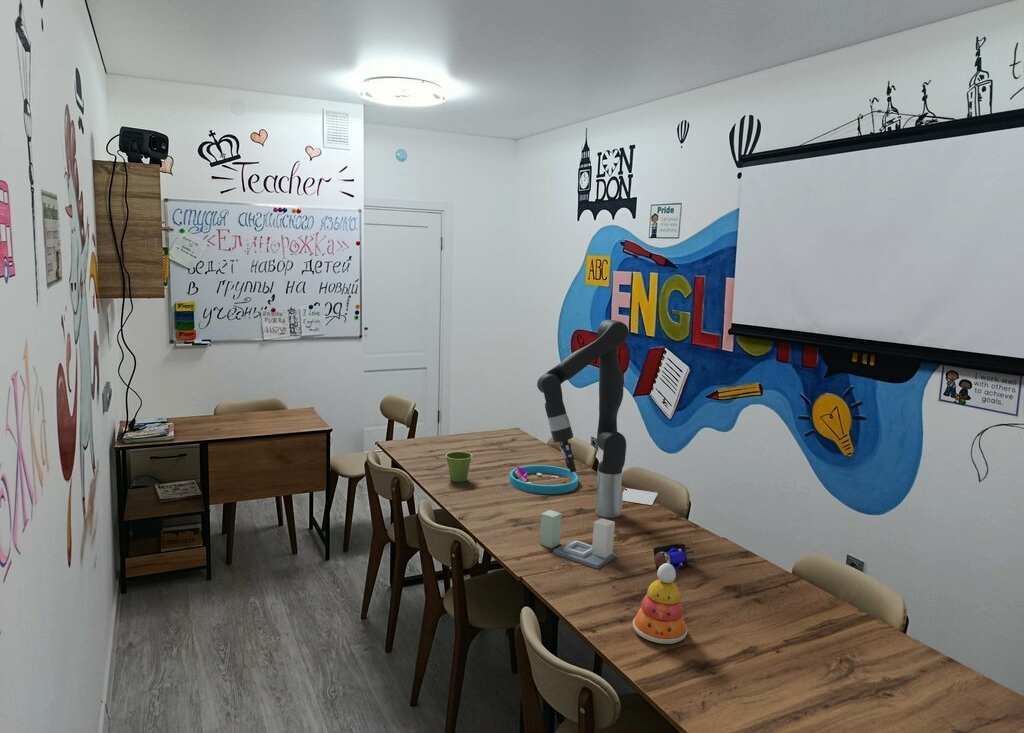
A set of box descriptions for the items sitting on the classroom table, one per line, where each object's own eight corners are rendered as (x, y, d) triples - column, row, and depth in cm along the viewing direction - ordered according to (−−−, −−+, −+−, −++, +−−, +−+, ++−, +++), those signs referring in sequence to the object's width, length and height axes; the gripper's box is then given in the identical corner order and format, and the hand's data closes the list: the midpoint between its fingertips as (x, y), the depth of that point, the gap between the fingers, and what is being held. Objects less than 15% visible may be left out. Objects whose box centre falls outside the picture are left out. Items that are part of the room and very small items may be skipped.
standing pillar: (599, 549, 236) (601, 518, 234) (612, 553, 233) (614, 521, 231) (591, 553, 232) (593, 522, 230) (605, 558, 229) (607, 526, 227)
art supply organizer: (514, 471, 325) (514, 458, 324) (579, 476, 321) (580, 463, 320) (504, 491, 296) (505, 478, 295) (576, 497, 292) (576, 484, 291)
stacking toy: (627, 640, 182) (632, 569, 179) (637, 615, 195) (642, 548, 192) (683, 652, 177) (689, 580, 174) (690, 626, 190) (695, 558, 188)
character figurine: (697, 569, 227) (659, 577, 221) (683, 558, 234) (645, 565, 227) (700, 547, 225) (662, 554, 219) (686, 537, 232) (648, 543, 225)
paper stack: (595, 497, 292) (595, 496, 292) (608, 481, 315) (608, 479, 315) (651, 506, 284) (651, 505, 284) (661, 488, 307) (661, 487, 307)
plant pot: (444, 475, 312) (445, 451, 310) (471, 476, 314) (472, 451, 312) (444, 484, 301) (445, 458, 299) (472, 484, 302) (473, 459, 300)
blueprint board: (572, 543, 243) (573, 536, 243) (615, 557, 233) (616, 550, 233) (553, 553, 234) (553, 546, 234) (597, 568, 224) (597, 561, 223)
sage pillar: (548, 539, 245) (549, 509, 244) (559, 543, 242) (561, 513, 241) (539, 544, 241) (541, 513, 240) (551, 548, 238) (553, 517, 237)
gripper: (572, 426, 249) (584, 470, 250) (567, 422, 264) (579, 464, 264) (552, 432, 249) (564, 476, 250) (548, 428, 263) (559, 469, 264)
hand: (571, 469), depth 257 cm, fingers open, 8 cm apart
